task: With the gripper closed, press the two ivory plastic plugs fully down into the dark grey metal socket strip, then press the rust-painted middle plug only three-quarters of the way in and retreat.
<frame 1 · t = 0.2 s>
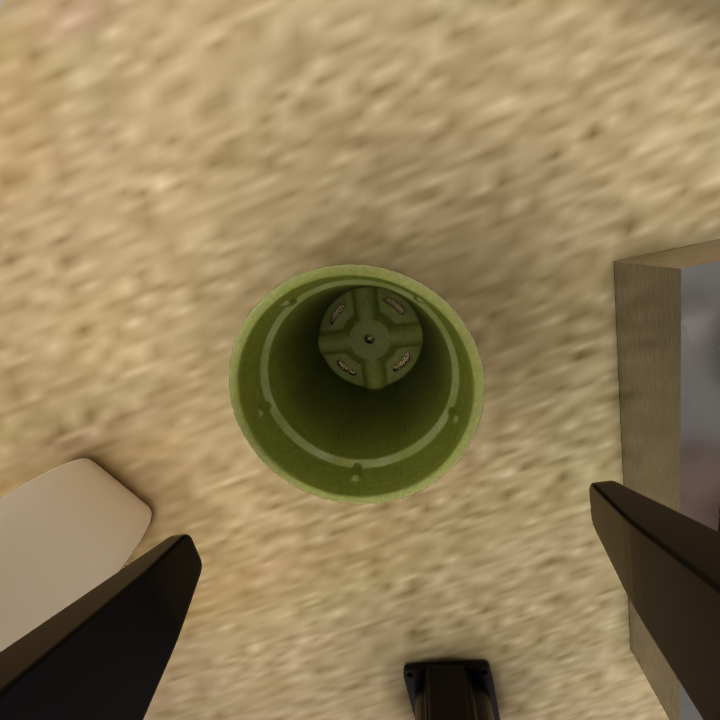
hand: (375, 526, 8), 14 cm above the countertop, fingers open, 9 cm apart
socket block: (697, 477, 22), on the countertop
plant pot: (372, 337, 22), on the countertop
white piece: (77, 557, 30), on the countertop
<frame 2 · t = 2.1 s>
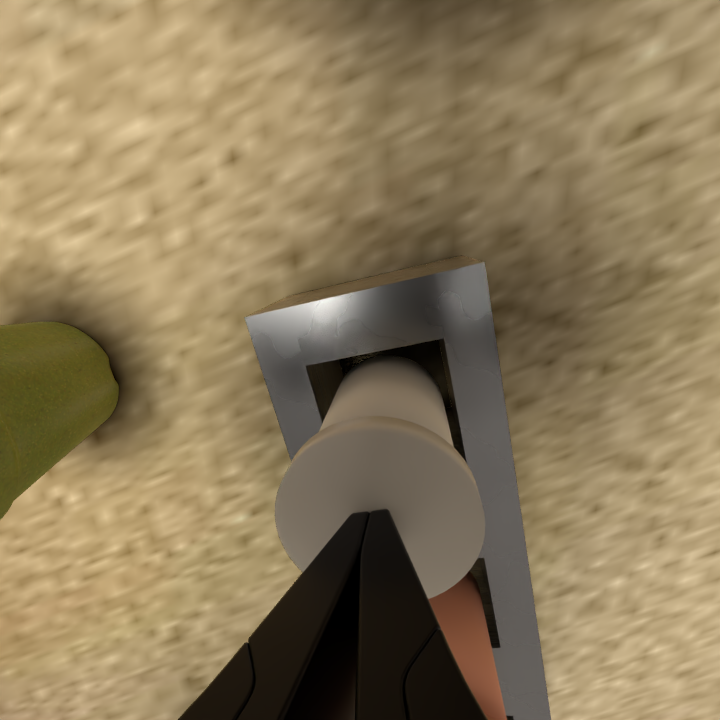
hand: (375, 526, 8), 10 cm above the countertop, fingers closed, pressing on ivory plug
rust plug: (438, 669, 14), point 7 cm above the countertop, slide at 0.0 cm
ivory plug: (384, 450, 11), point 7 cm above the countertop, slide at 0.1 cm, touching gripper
socket block: (427, 524, 21), on the countertop
plant pot: (72, 375, 21), on the countertop
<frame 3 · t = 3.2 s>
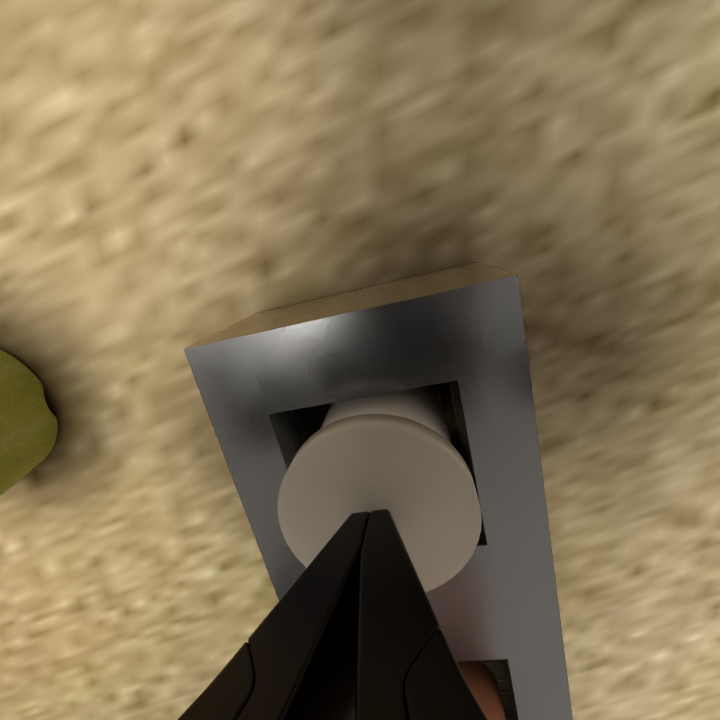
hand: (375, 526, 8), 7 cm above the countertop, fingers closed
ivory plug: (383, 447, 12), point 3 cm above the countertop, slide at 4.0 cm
socket block: (431, 584, 17), on the countertop
plant pot: (2, 405, 17), on the countertop
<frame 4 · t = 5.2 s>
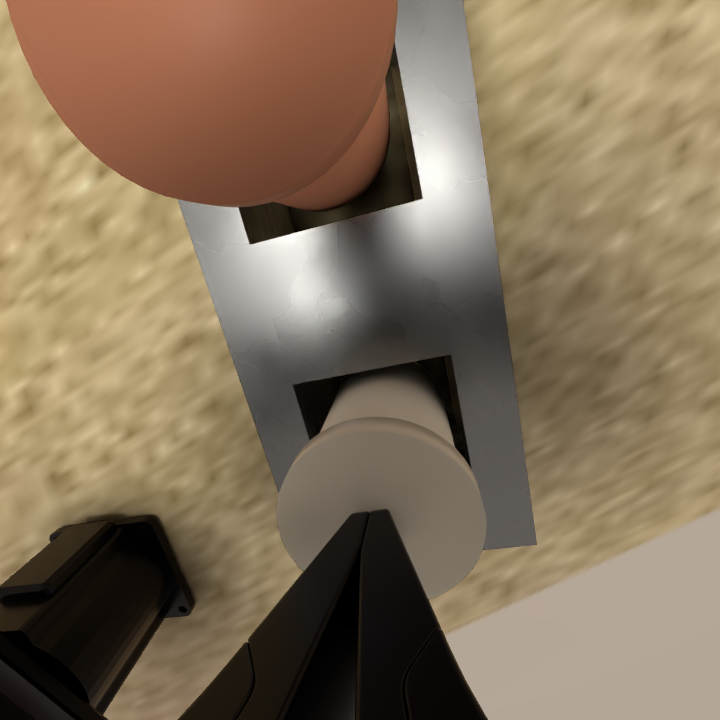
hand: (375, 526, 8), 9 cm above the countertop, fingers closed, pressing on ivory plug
rust plug: (278, 87, 7), point 7 cm above the countertop, slide at 0.0 cm
socket block: (340, 161, 14), on the countertop
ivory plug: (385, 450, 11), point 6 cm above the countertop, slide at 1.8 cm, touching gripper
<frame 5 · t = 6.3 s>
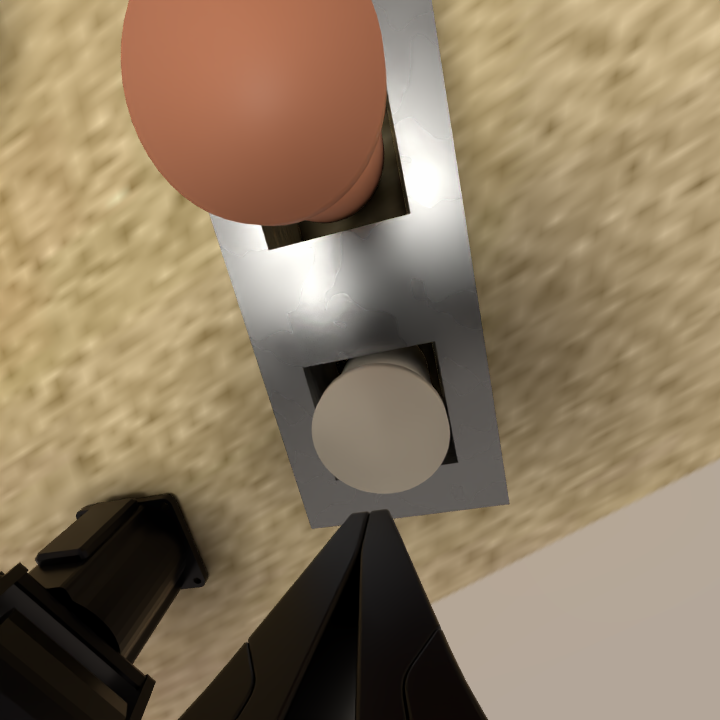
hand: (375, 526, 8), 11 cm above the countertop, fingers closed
rust plug: (297, 131, 9), point 7 cm above the countertop, slide at 0.0 cm
socket block: (342, 178, 16), on the countertop
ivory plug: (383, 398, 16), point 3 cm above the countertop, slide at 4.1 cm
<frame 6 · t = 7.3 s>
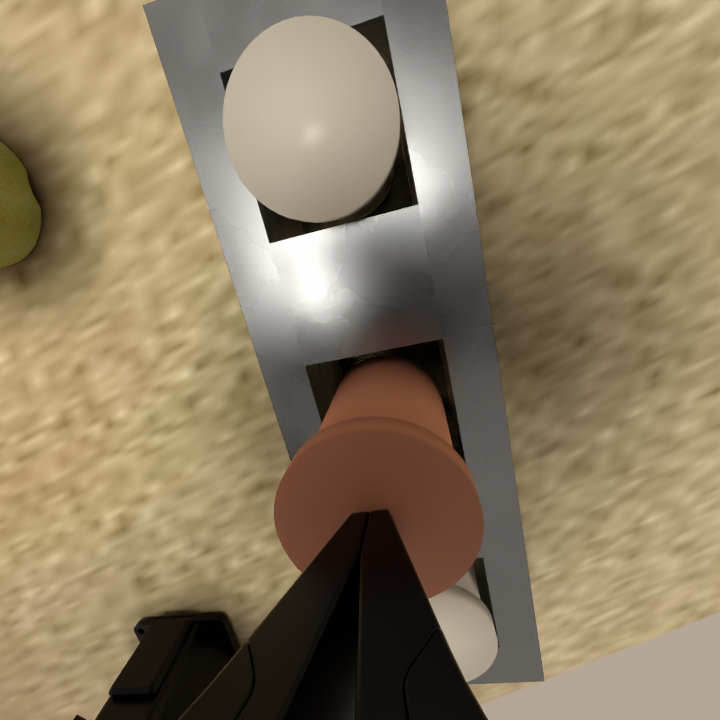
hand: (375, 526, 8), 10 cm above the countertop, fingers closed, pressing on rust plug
rust plug: (383, 450, 11), point 7 cm above the countertop, slide at 0.0 cm, touching gripper
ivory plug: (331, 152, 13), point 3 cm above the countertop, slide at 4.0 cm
socket block: (391, 370, 18), on the countertop
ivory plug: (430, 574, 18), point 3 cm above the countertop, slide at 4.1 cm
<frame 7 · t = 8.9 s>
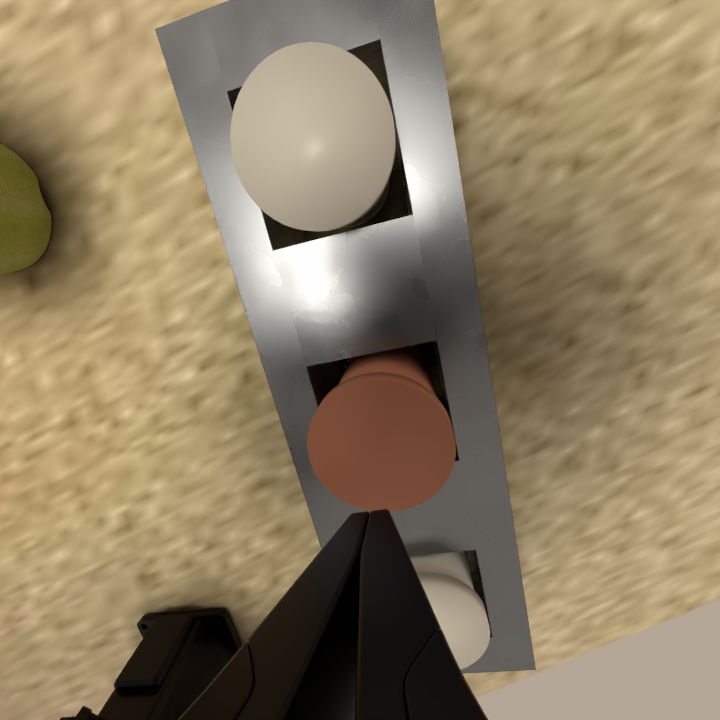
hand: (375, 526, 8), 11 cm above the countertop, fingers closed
rust plug: (384, 407, 15), point 4 cm above the countertop, slide at 2.9 cm
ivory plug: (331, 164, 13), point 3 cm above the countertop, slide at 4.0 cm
socket block: (388, 371, 19), on the countertop
plant pot: (2, 208, 19), on the countertop
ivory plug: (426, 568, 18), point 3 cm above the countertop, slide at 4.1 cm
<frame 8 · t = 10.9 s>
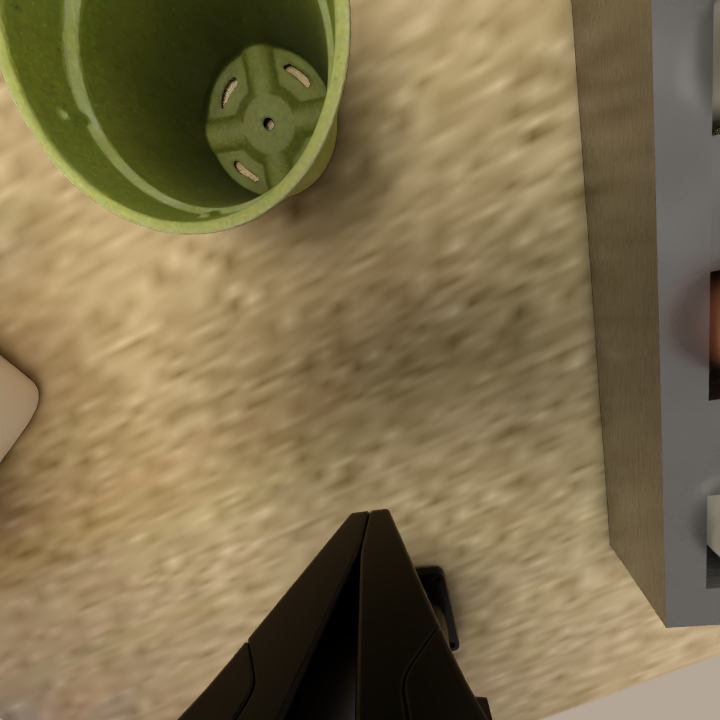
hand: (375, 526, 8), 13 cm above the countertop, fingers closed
socket block: (686, 302, 18), on the countertop
plant pot: (275, 129, 18), on the countertop
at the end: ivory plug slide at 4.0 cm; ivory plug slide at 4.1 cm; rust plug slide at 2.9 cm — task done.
